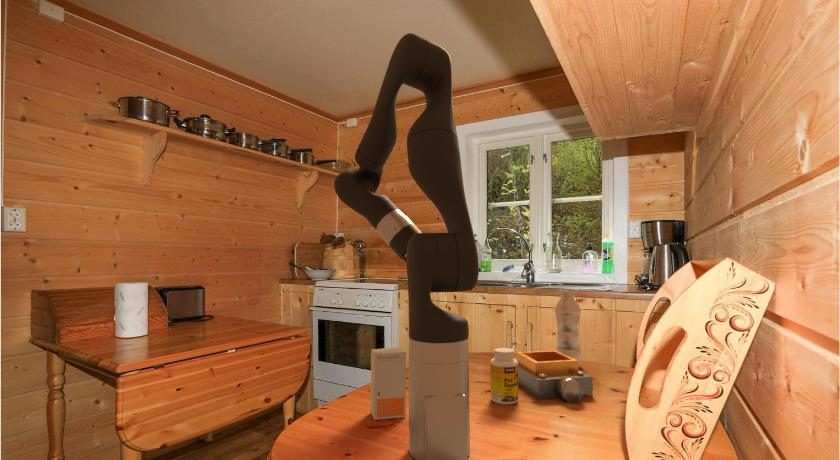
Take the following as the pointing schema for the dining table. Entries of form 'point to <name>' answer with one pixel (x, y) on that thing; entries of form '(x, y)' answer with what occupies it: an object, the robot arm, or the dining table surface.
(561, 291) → the plastic bottle
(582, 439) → the dining table surface
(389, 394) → the skincare box
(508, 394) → the supplement bottle
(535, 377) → the gearbox housing
